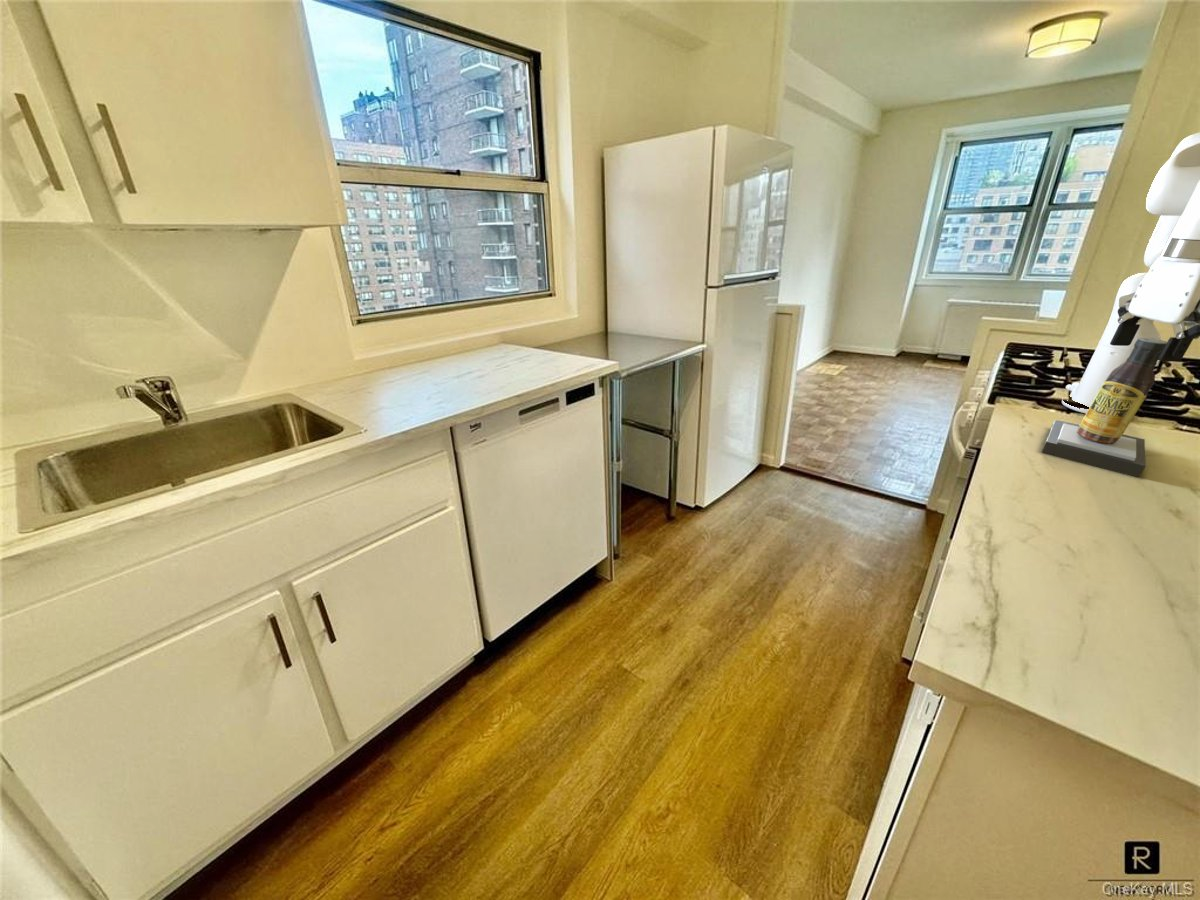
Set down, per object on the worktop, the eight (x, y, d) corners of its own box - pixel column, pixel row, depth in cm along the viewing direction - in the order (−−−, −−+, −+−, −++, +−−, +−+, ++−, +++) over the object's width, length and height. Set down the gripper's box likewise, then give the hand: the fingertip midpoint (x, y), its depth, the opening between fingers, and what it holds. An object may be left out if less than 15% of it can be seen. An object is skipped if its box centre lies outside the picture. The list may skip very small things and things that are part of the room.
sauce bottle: (1068, 434, 97) (1117, 336, 88) (1085, 429, 99) (1135, 333, 90) (1109, 448, 92) (1166, 345, 83) (1126, 442, 94) (1183, 342, 85)
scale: (1050, 429, 107) (1056, 416, 106) (1138, 449, 99) (1146, 435, 97) (1041, 452, 97) (1048, 438, 96) (1138, 477, 88) (1148, 462, 87)
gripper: (1283, 257, 72) (1215, 367, 80) (1170, 246, 87) (1122, 340, 95) (1229, 257, 72) (1167, 367, 80) (1125, 246, 88) (1082, 339, 96)
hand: (1143, 352), depth 88 cm, fingers open, 9 cm apart
